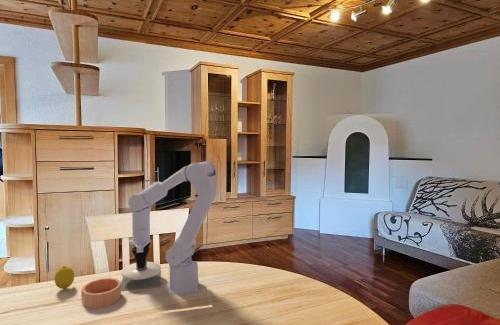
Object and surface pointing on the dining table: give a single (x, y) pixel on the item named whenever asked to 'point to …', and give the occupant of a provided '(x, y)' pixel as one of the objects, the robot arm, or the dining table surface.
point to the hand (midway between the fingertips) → (141, 265)
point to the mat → (141, 283)
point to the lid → (141, 271)
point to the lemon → (64, 277)
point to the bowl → (101, 292)
